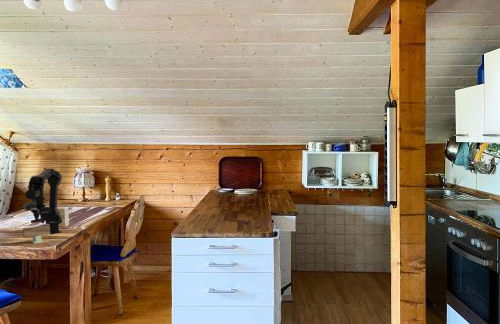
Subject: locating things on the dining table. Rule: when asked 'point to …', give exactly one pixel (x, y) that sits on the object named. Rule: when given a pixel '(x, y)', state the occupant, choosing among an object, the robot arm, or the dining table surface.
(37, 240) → the fulcrum
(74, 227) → the dining table surface
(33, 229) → the brown rectangular block
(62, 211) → the supplement box
